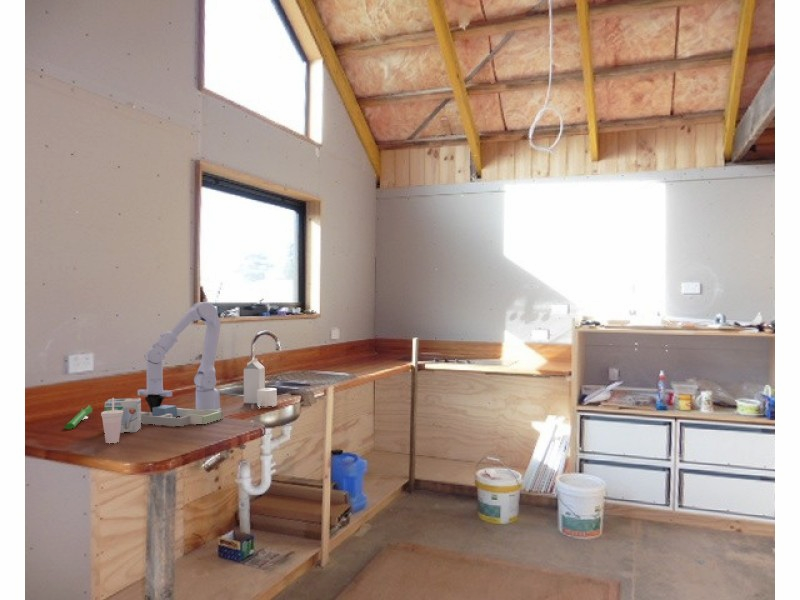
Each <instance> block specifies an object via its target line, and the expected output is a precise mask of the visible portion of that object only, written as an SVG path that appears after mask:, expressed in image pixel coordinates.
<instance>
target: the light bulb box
mask: <svg viewBox="0 0 800 600" xmlns="http://www.w3.org/2000/svg"><path fill="white" fill-rule="evenodd" d="M141 404H142V398H141V397H134V398H133V397H132V398H114V410H122V411H123V415H122V421H121V429H120V434H125V433H124V432H130V433H138V432H139V431H140V430H141V429H142V424H141V412H142V405H141ZM110 410H112V398H110V399H108V400H106V401H105V402H104V411H110ZM139 429H140V430H139ZM138 430H139V431H138ZM137 431H138V432H137Z"/></svg>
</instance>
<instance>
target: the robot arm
mask: <svg viewBox="0 0 800 600" xmlns="http://www.w3.org/2000/svg"><path fill="white" fill-rule="evenodd" d="M217 311H218V310H217V308H216V307H215V305H213V304H212V303H211V302H207V301H205V302H203V301H197V302H195V303H194V304H193V305H192V306H191V307H190V308H189V309H188V310H187V311H186V312H185V313H184V315H183V316H182V317H181V318H180V319H179V321H177V323H176V324H175V325H174V326H173V328H172V329H171V330H170V331H165V332H164V333H163V332H162V333H160V337H159V338H158V339H157V340H156V341H155V343H152V344H151V347H150V348H148V349H147V350H146V351H145V354H144V358H145V361H146V389H137V396H145V397H144V400H145V402H146V403H147V405H148V407H149V410H150V412H151V413H152V416H153V407H157V406H162V403H163V402H164V399H165V397H167V398H171V397H173V391H172V390H167V389H165V390H164V385H163V383H164V382H163V381H164V380H163V379H164V378H163V377H164V376H163V375H164V373H163V372H164V371H163V370H164V367H163V361H164V360H165V359H166V358H165V357H166V354H168V352H169V351H170V350H171V349H172V348H173V347H174V346H175V345H176V344H177V342H178V337H179V335H181V334H182V332H183V331H184V330H186V328H187V327H188V326H189V325H190V324H191V323H193V322H195V321H198V320H200V321H201V322H202V323H204V325H205V326H206V330H205V334H204V335H205V336H204V343H203V348H202V355H201V361H200V365H199V367H198V369H197V372H196V374H195V375H194V378H193V382H194V383H193V384H194V385H195V386H196V387H195V409H197V410H205V409H209V410H220V411H223V410H222V408H221V405H220V404H221V403H220V402H221V399H220V398H221V397H220V395H221V394H220V391H219V389H217V388H216V387H215V386H217V378H216V369H215V362H216V355H217V352H218V351H217V349H218V343H219V338H220V331H221V325H222V323H221V319H220V317H219V314H218V312H217Z"/></svg>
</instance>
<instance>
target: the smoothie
mask: <svg viewBox="0 0 800 600" xmlns="http://www.w3.org/2000/svg"><path fill="white" fill-rule="evenodd" d="M111 399H112V410H110V411H105V410H104V411H102V412H101V413H100V417H101V418H102V426H103V432H104V433H105V434H104V433H103V434H104V440H105V444H106V443H109V444H108V445H111V444H110V443H114V444H117V442H118V443H119V442H120V436H121V433H120V429H121V421H122V415H123V411H122V410H114V399H115V398H114V397H112V398H111Z"/></svg>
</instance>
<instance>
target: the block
mask: <svg viewBox="0 0 800 600" xmlns="http://www.w3.org/2000/svg"><path fill="white" fill-rule="evenodd" d="M177 408H178V407H177V405H170V404H161V405H160V406H157V407H153V415H152V416H161V415H165V414H172V417H177ZM177 418H178V417H177Z"/></svg>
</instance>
